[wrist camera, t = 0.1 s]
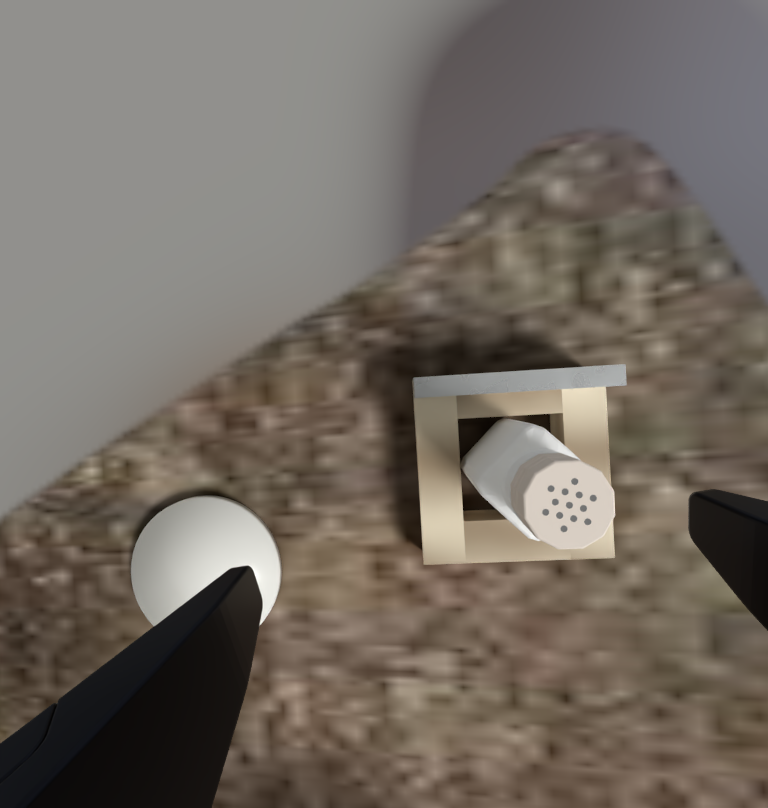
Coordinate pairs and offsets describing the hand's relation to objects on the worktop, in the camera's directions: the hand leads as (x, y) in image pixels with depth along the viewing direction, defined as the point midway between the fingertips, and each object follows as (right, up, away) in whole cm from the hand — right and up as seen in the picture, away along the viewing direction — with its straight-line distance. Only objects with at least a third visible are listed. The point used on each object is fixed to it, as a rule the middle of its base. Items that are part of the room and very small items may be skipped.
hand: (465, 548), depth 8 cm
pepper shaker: (+5, 0, +15) cm, 16 cm away
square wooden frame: (+5, 0, +15) cm, 16 cm away
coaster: (-12, -7, +16) cm, 22 cm away
